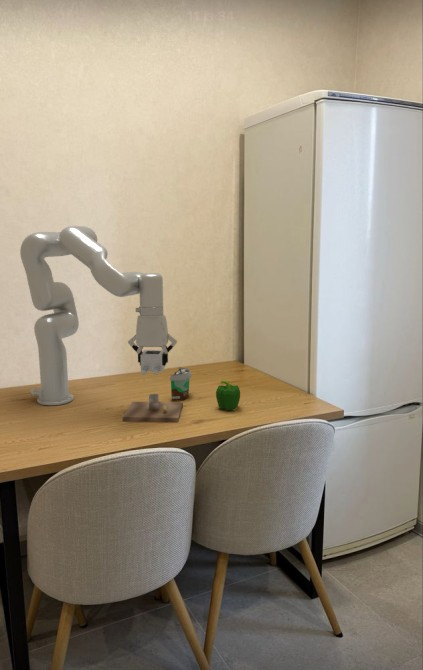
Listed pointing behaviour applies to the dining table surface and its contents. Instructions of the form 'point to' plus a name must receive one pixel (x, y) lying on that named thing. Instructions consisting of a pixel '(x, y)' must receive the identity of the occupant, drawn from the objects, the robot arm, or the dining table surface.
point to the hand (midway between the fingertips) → (153, 364)
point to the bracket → (152, 361)
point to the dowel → (164, 409)
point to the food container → (180, 384)
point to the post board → (153, 411)
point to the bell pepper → (228, 396)
